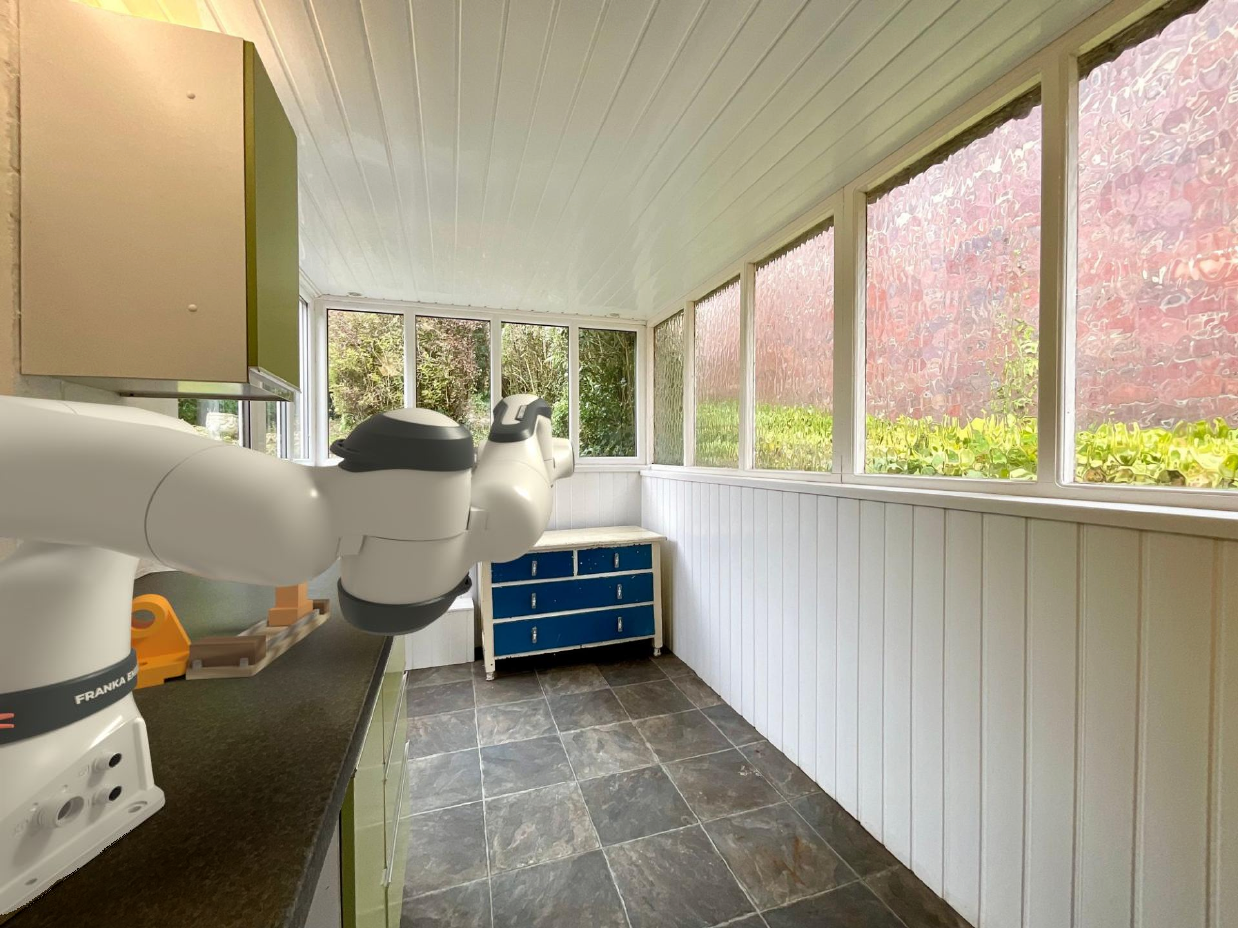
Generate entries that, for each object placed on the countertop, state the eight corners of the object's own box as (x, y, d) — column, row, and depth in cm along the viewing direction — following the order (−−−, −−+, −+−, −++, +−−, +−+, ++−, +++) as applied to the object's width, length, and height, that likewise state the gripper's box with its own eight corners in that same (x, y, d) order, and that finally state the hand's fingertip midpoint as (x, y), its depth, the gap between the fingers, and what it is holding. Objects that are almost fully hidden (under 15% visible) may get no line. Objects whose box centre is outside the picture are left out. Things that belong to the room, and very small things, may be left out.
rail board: (252, 676, 74) (252, 643, 74) (185, 679, 72) (185, 646, 72) (330, 617, 100) (330, 593, 100) (282, 619, 99) (282, 594, 99)
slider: (297, 624, 91) (298, 556, 91) (268, 625, 90) (268, 556, 90) (312, 614, 97) (313, 550, 97) (285, 615, 96) (286, 550, 96)
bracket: (82, 699, 66) (82, 613, 66) (97, 679, 72) (97, 599, 72) (186, 679, 73) (186, 600, 72) (192, 662, 78) (192, 589, 78)
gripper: (479, 481, 84) (398, 486, 83) (502, 475, 104) (437, 478, 104) (477, 445, 84) (396, 450, 83) (500, 445, 104) (435, 449, 103)
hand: (419, 465), depth 94 cm, fingers open, 8 cm apart
